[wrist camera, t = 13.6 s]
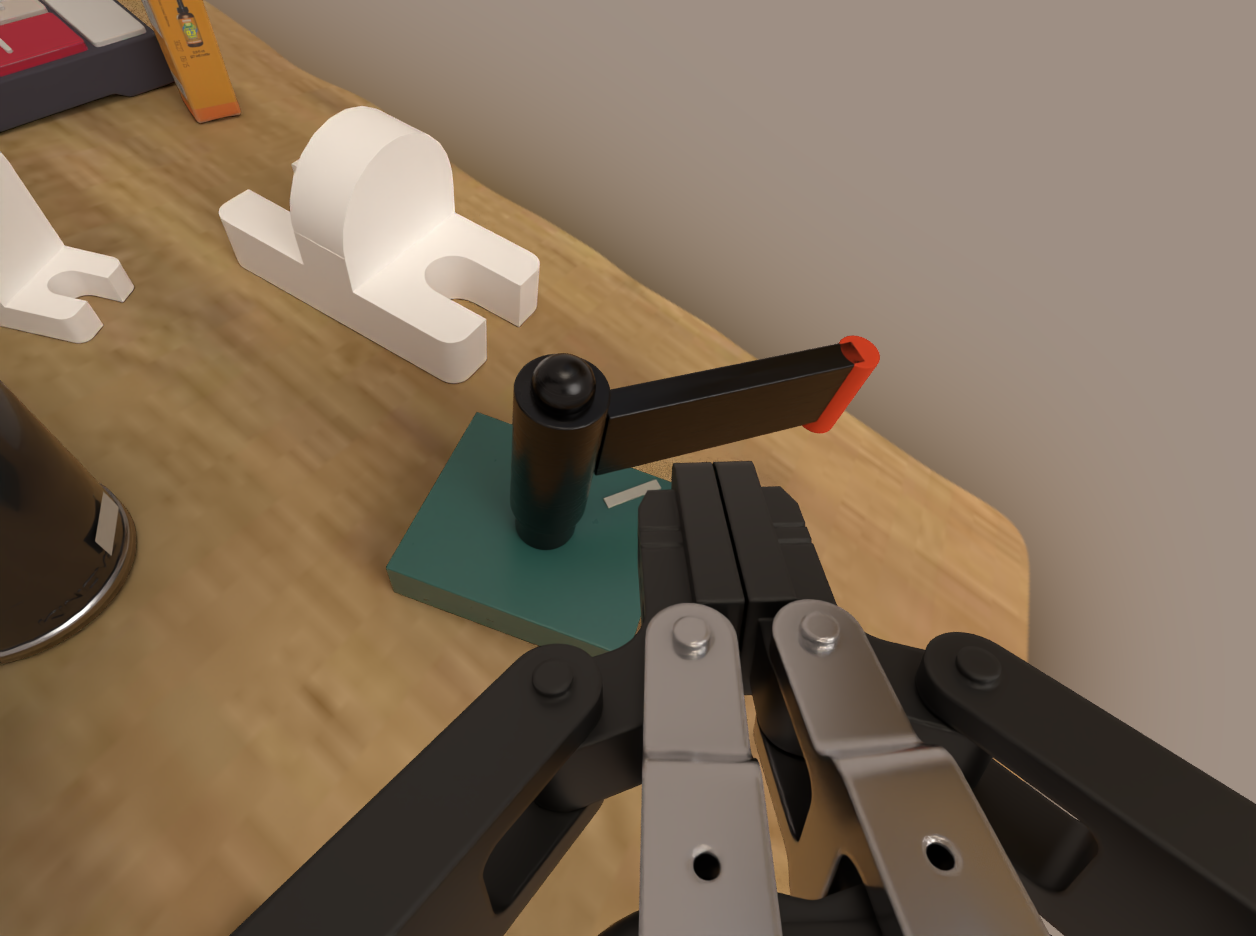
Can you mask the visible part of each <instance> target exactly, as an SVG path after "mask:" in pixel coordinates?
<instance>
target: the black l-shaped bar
mask: <svg viewBox="0 0 1256 936" xmlns="http://www.w3.org/2000/svg"><path fill="white" fill-rule="evenodd" d="M879 360H880V355H879V352H878V350H877V348H876V347H875V346H874V345H873V344H872V343H871V342H870V341H868V340H867V339H865V338H862V337H859V336H847V337H844V338H843V339H841V340H840V342H839V343H838V344H834V345H829V346H824V347H819V348H814V349H809V350H804V351H800V352H794V353H789V354H784V355H779V356H775V357H769V358H765V359H760V360H755V361H750V362H745V363H740V364H735V365H730V366H725V367H720V368H715V369H710V370H705V371H700V372H695V373H690V374H685V375H681V376H676V377H671V378H666V379H661V380H656V381H651V382H646V383H641V384H636V385H631V386H626V387H621V388H616V389H611V390H610V387H609V384H608V381H607V380H606V378H605V376H604V375H603V373H602V372H601V371H600V370H599V369H598V368H597V367H596V366H594V365H593V364H592V363H590V362H588V361H586V360H584V359H582V358H580V357H577V356H575V355H572V354H568V353H558V354H550V355H545V356H541V357H538V358H536V359H534V360H532V361H530V362H529V363H527V364H526V365H525V366H524V367H523V368H522V369H521V370H520V372H519V373H518V375H517V377H516V379H515V383H514V394H513V423H512V452H511V482H510V506H511V510H512V512H513V514H514V516H515V518H516V519H517V520H518V522H520V523H521V524H522V525H523V526H524V527H526V528H527V529H529V530H531V531H533V532H536V533H540V534H558V533H562V532H565V531H567V530H569V529H571V528H572V527H574V526H575V525H576V524H577V523H578V522H579V521H580V519H581V518H582V516H583V514H584V512H585V509H586V504H587V500H588V496H589V491H590V487H591V483H592V478H593V474H595V475H596V476H598V475H602V474H606V473H611V472H615V471H619V470H623V469H627V468H631V467H635V466H639V465H643V464H647V463H651V462H655V461H659V460H663V459H667V458H671V457H675V456H680V455H684V454H688V453H692V452H696V451H700V450H704V449H708V448H712V447H716V446H720V445H724V444H728V443H732V442H736V441H740V440H744V439H749V438H753V437H757V436H761V435H765V434H769V433H773V432H777V431H781V430H785V429H789V428H793V427H797V426H801V425H802V426H803V427H804V428H806V429H807V430H809V431H811V432H814V433H825V432H827V431H829V430H830V429H831V428H832V427H833V425H834V424H835V423H836V421H837V420H838V419H839V417H840V416H841V414H842V413H843V412H844V410H845V409H846V407H847V406H848V405H849V403H850V402H851V401H852V399H853V398H854V396H855V395H856V394H857V392H858V391H859V389H860V388H861V386H862V385H863V384H864V382H865V381H866V380H867V378H868V377H869V376H870V374H871V373H872V371H873V370H874V369H875V367H876V366H877V364H878V363H879Z"/></svg>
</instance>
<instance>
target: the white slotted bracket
mask: <svg viewBox="0 0 1256 936" xmlns="http://www.w3.org/2000/svg"><path fill="white" fill-rule="evenodd" d="M292 168H293V171H294V176H293V182H292V189H291V195H290V212H289V211H287V210H286V209H284V208H282V207H280V206H278V205H276V204H275V203H273V202H271V201H269V200H267V199H265V198H264V197H262V196H260V195H258V194H256V193H254V192H253V191H251V190H249V189H248V190H246V191H244V192H243V193H241V194H239V195H238V196H236V197H234V198H233V199H231V200H229V201H228V202H226V203H224V204H223V205H222V206H221V207H220V209H219V216H220V218H221V221H222V223H223V226H224V228H225V231H226V233H227V235H228V238H229V240H230V243H231V245H232V248H233V250H234V253H235V255H236V258H237V260H238V262H239V264H240V265H241V266H242V267H243V268H245V269H247V270H249V271H250V272H252V273H254V274H256V275H257V276H259V277H261V278H263V279H265V280H266V281H268V282H270V283H272V284H273V285H275V286H277V287H279V288H280V289H282V290H284V291H286V292H287V293H289V294H291V295H293V296H294V297H296V298H298V299H300V300H301V301H303V302H305V303H307V304H309V305H310V306H312V307H314V308H316V309H317V310H319V311H321V312H323V313H324V314H326V315H328V316H330V317H331V318H333V319H335V320H337V321H338V322H340V323H342V324H344V325H345V326H347V327H349V328H351V329H352V330H354V331H356V332H358V333H360V334H361V335H363V336H365V337H367V338H368V339H370V340H372V341H374V342H375V343H377V344H379V345H381V346H382V347H384V348H386V349H388V350H389V351H391V352H393V353H395V354H396V355H398V356H400V357H402V358H404V359H405V360H407V361H409V362H411V363H412V364H414V365H416V366H418V367H419V368H421V369H423V370H425V371H426V372H428V373H430V374H432V375H433V376H435V377H437V378H439V379H440V380H442V381H445V382H448V383H459V382H463V381H465V380H467V379H468V378H469V377H470V376H471V375H472V374H473V373H474V372H475V371H476V370H477V369H478V368H479V367H480V366H481V365H482V364H483V363H484V362H485V361H486V360H487V337H486V319H485V318H483V317H481V316H480V315H478V314H476V313H474V312H472V311H470V310H469V309H467V308H465V307H463V306H461V305H459V304H458V303H456V302H454V301H452V300H450V299H465V300H469V301H471V302H474V303H476V304H477V305H479V306H481V307H483V308H485V309H487V310H488V311H490V312H492V313H494V314H496V315H498V316H499V317H501V318H503V319H505V320H507V321H509V322H510V323H512V324H514V325H516V326H518V327H520V326H521V325H522V323H523V322H524V321H525V320H526V319H527V318H528V317H529V316H530V315H531V314H532V313H533V312H534V311H535V310H536V307H537V296H538V282H539V267H540V262H539V259H538V258H537V257H536V255H534V254H533V253H531V252H529V251H527V250H526V249H524V248H522V247H520V246H518V245H516V244H514V243H512V242H510V241H508V240H506V239H505V238H503V237H501V236H499V235H497V234H495V233H493V232H491V231H489V230H487V229H485V228H483V227H482V226H480V225H478V224H476V223H474V222H472V221H470V220H468V219H466V218H464V217H462V216H461V215H459V214H457V213H455V207H454V190H453V179H452V169H451V166H450V162H449V159H448V156H447V154H446V152H445V151H444V149H443V147H442V146H441V144H440V143H439V142H438V141H436V140H435V139H433V138H432V137H431V136H429V135H427V134H425V133H423V132H421V131H420V130H418V129H416V128H413V127H412V126H409V125H408V124H406V123H404V122H402V121H400V120H398V119H396V118H394V117H392V116H390V115H388V114H386V113H384V112H382V111H380V110H378V109H375V108H370V107H365V106H359V107H354V108H349V109H345V110H343V111H341V112H340V113H338V114H336V115H334V116H333V117H331V118H329V119H328V120H327V121H326V122H325V123H324V124H323V125H322V126H321V127H320V128H319V129H318V130H317V131H316V132H315V133H314V135H313V136H312V138H311V139H310V141H309V143H308V144H307V146H306V148H305V149H304V151H303V153H302V154H301V157H300V159H299V160H297V161H295V162H294V163H292Z"/></svg>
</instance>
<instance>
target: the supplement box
mask: <svg viewBox="0 0 1256 936" xmlns="http://www.w3.org/2000/svg"><path fill="white" fill-rule="evenodd" d="M141 1H142V3H143V5H144V8H145V10H146V13H147V15H148V18H149V20H150V22H151V25H152V27H153V30H154V32H155V35H156V37H157V40H158V42H159V44H160V47H161V49H162V52H163V54H164V56H165V59H166V61H167V64H168V66H169V68H170V71H171V73H172V75H173V78H174V80H175V82H176V85H177V87H178V90H179V92H180V94H181V97H182V99H183V101H184V103H185V104H186V106H187V107H188V109H189V110H190V112H191V113H192V115H193V116H194V118H195V119H196V121H198V122H199V123H203V122H207V121H210V120H215V119H219V118H223V117H227V116H235V115H240V113H241V110H240V107H239V105H238V102H237V99H236V96H235V94H234V91H233V88H232V85H231V82H230V79H229V76H228V73H227V70H226V67H225V64H224V61H223V58H222V56H221V53H220V50H219V47H218V44H217V41H216V38H215V35H214V32H213V29H212V26H211V24H210V21H209V18H208V15H207V12H206V9H205V6H204V3H203V0H141Z"/></svg>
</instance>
